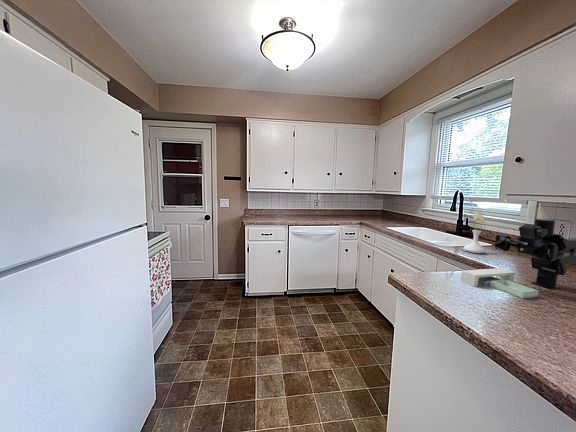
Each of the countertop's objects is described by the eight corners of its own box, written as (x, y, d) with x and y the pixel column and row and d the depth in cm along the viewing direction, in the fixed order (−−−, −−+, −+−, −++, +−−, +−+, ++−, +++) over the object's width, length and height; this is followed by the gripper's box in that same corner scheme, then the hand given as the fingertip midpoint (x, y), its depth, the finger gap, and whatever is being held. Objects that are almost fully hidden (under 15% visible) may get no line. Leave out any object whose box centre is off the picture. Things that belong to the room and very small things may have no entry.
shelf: (499, 278, 109) (500, 268, 108) (513, 283, 103) (515, 272, 103) (460, 281, 103) (462, 270, 102) (473, 286, 97) (475, 275, 97)
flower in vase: (489, 255, 149) (494, 214, 146) (467, 253, 152) (472, 213, 149) (479, 250, 161) (484, 212, 159) (459, 248, 165) (463, 211, 162)
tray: (504, 285, 101) (504, 279, 100) (537, 296, 90) (538, 290, 90) (489, 286, 98) (490, 280, 98) (522, 298, 88) (523, 292, 88)
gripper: (511, 222, 105) (484, 223, 101) (571, 229, 87) (542, 230, 83) (508, 247, 106) (481, 250, 102) (567, 259, 89) (538, 263, 84)
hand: (508, 247), depth 93 cm, fingers open, 9 cm apart
